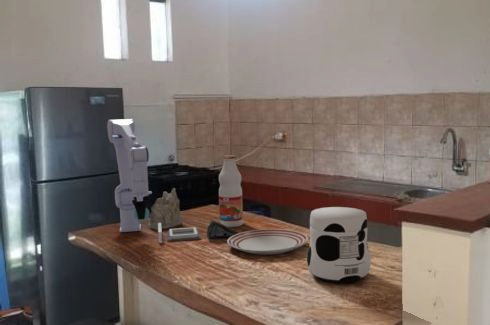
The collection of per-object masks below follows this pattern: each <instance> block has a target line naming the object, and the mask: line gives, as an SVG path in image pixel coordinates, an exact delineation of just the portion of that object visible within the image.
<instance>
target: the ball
mask: <svg viewBox="0 0 490 325" xmlns="http://www.w3.org/2000/svg"><path fill="white" fill-rule="evenodd" d="M134 217H135V219H136V220H138V221H139V222H145V221H146V220H148V219H149V217H150V211H149V209H148V207H146V211H145V218H144V219H138V216H137V212H136V209H135V211H134Z"/></svg>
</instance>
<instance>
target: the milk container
mask: <svg viewBox="0 0 490 325" xmlns="http://www.w3.org/2000/svg"><path fill="white" fill-rule="evenodd" d="M309 240H310V241H309V246H308V251H307V255H306V264H307V268H308V271H309V272H310V274H311V275H312V276H314V278H315V277H316V278H317V279H319V280H321V281H322V280H323V281H326V282H333V283H351V282H357V281H359V280H362V279H364V278H365V277H367V276H368V274H369V272H370V269H371V254H370V250H369V246H368V218H367V212H366V211H365V210H363V209H358V208H354V207H343V206H330V207H329V206H328V207H320V208H315V209H313V210H312V211H311V212H310V217H309Z"/></svg>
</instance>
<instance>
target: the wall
mask: <svg viewBox="0 0 490 325" xmlns="http://www.w3.org/2000/svg"><path fill="white" fill-rule="evenodd" d="M157 231H158V232H157V234H158V244H163V234H162V229H161V223H158V229H157Z"/></svg>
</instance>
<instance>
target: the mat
mask: <svg viewBox="0 0 490 325" xmlns="http://www.w3.org/2000/svg"><path fill="white" fill-rule="evenodd" d="M166 239H167V243H168V242H169V243H170V241H171V242H182V241H194V240H195V241H197V240H202V237H201V234H200V231H199V229H197V227H196V226H195V227H179V228H169V229H168V231H166Z"/></svg>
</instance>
